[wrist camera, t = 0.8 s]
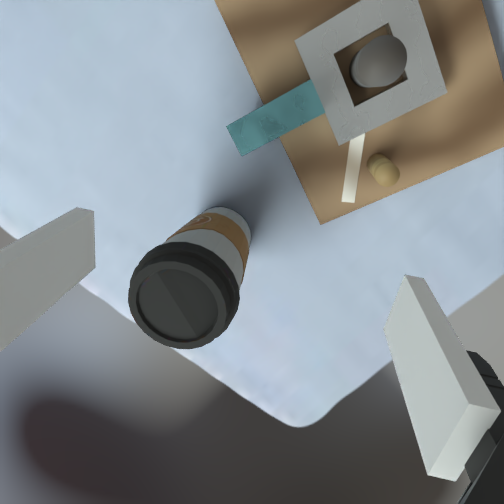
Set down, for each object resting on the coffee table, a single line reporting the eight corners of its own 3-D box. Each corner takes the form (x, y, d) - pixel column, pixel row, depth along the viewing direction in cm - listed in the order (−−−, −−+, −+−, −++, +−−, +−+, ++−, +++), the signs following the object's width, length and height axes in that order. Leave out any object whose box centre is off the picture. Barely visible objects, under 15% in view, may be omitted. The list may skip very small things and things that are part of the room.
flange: (222, 86, 33) (205, 85, 27) (404, -23, 28) (426, -51, 22) (268, 177, 35) (260, 193, 30) (441, 92, 30) (469, 92, 25)
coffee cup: (238, 183, 38) (196, 235, 24) (274, 252, 40) (254, 335, 26) (171, 215, 40) (98, 278, 26) (208, 279, 43) (159, 367, 29)
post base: (214, -3, 32) (183, -34, 24) (431, -153, 26) (482, -256, 18) (320, 221, 38) (322, 254, 30) (512, 138, 32) (575, 152, 25)
